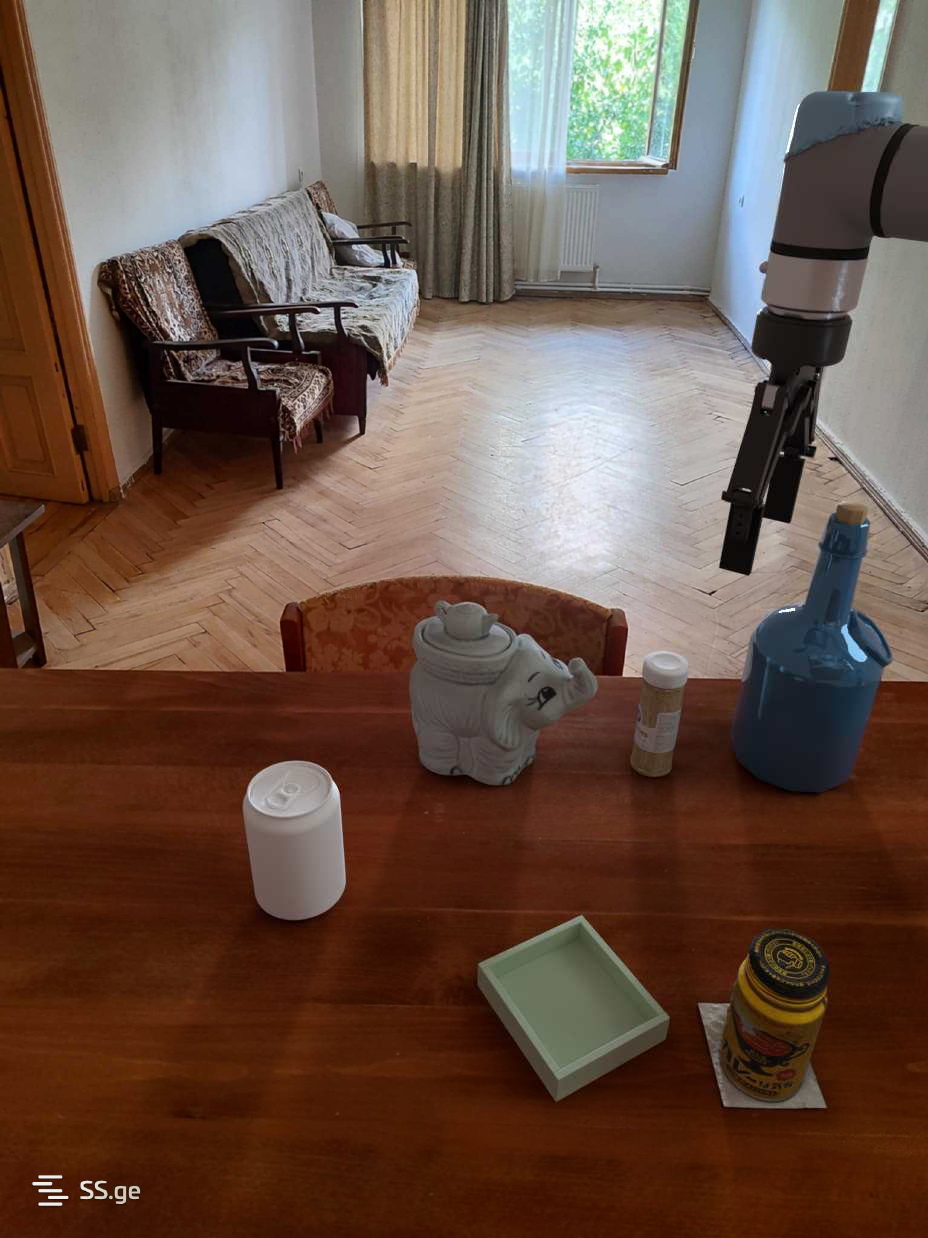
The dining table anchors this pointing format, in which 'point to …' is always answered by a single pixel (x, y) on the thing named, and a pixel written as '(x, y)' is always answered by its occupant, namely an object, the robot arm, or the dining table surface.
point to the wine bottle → (813, 672)
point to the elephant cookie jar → (486, 693)
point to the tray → (571, 1006)
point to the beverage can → (295, 840)
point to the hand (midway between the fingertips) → (756, 543)
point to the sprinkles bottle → (659, 713)
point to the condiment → (770, 1024)
